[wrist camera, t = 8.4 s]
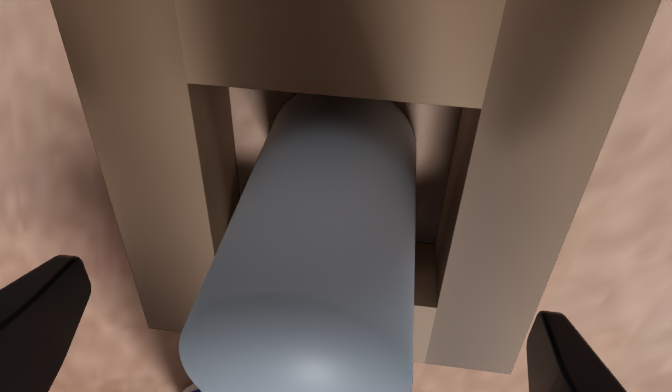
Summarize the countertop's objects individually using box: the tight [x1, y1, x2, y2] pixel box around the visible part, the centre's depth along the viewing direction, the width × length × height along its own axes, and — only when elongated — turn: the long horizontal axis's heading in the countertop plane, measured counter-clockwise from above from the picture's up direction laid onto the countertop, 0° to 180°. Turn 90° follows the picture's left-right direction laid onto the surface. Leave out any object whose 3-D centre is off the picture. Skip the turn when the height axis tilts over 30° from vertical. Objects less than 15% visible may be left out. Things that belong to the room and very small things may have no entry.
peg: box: [179, 93, 416, 392], centre depth 12 cm, size 4×4×7 cm
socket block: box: [50, 0, 661, 374], centre depth 13 cm, size 11×11×2 cm
